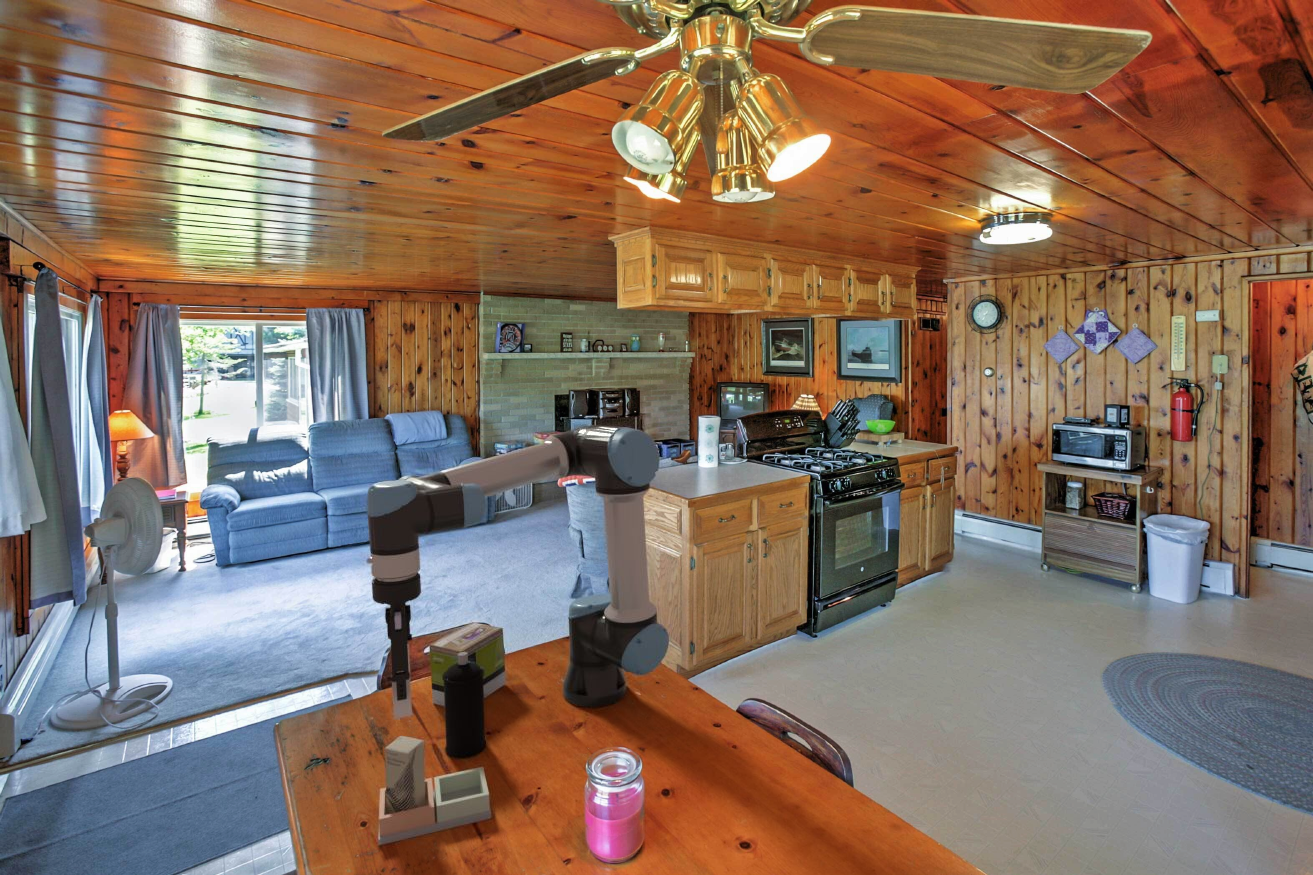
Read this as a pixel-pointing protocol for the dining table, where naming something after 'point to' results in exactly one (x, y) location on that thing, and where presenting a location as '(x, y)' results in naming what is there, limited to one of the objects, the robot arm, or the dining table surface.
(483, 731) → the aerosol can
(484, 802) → the socket board
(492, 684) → the tea box
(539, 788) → the dining table surface
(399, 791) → the box
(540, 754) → the dining table surface
